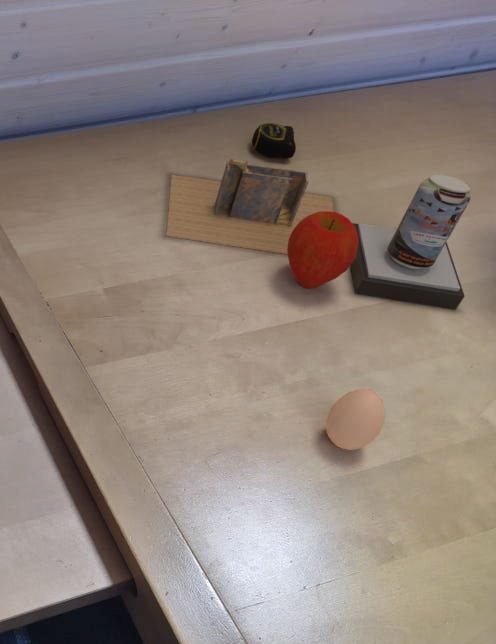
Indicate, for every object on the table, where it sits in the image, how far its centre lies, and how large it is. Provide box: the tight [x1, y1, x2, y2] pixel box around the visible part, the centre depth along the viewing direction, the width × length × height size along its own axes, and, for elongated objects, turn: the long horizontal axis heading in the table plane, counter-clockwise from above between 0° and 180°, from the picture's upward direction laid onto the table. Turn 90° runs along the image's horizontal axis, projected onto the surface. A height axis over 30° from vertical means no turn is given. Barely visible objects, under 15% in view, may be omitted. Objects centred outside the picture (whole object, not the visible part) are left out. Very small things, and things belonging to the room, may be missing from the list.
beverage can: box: [387, 172, 472, 269], centre depth 92 cm, size 6×7×12 cm
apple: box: [287, 211, 359, 290], centre depth 93 cm, size 9×8×11 cm
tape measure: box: [251, 122, 297, 159], centre depth 119 cm, size 7×7×4 cm
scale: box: [350, 222, 466, 310], centre depth 99 cm, size 13×13×3 cm
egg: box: [325, 388, 386, 451], centre depth 76 cm, size 5×5×8 cm
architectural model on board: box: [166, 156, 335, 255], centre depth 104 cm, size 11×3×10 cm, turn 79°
